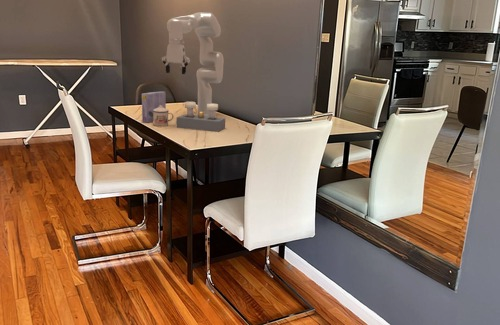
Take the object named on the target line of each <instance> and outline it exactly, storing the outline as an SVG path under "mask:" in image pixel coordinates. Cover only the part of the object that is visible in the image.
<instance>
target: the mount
mask: <svg viewBox="0 0 500 325" xmlns="http://www.w3.org/2000/svg"><path fill="white" fill-rule="evenodd" d="M176 128H178V129H185V130H186V129H187V130H195V131H196V130H197V131H198V130H199V131H205V132H217V133H219V132H221V131H222V130H224V129H226V117H217V116H215V120H210V119H209V117H208V116H204V118H198V115H195V114H193V118H190V117H187V113H185V114H181V115H179V116H176Z"/></svg>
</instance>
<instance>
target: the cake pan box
mask: <svg viewBox="0 0 500 325" xmlns="http://www.w3.org/2000/svg"><path fill="white" fill-rule="evenodd" d="M166 99H167V98H166V91H153V92H146V93H145V92H144V93H143V92H142V93H141V114H142V115H141V119H142V120H141V121H142V123H146V124H147V123H148V124H149V123H154V119H153V110H154V109H156V108H158V107H159V106H160V105H161V106H162V107H164V108H165V109H167V108H166V105H167V104H166Z"/></svg>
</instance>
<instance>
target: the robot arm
mask: <svg viewBox="0 0 500 325" xmlns="http://www.w3.org/2000/svg"><path fill="white" fill-rule="evenodd" d="M166 28H167V29H166V30H167V31H168V45H167V47H166V48H167V49H166V55H164V56H162V57H161V61H162V63H163V64H164V66H165V72H166V74H170V71H171V69H170V68H171V66H170V64H181V65H182V67H181V74H182V75H185V74H186V73H187V70H186V69H187V67H188V65H189V64H190V62H191V59H190V58H189V57H187V56H186V50H185V49H186V48H185V45H183V44H185V43H186V42H185V40H183V38H184V37H183V34H189V33H190V32H192V31H193V30H194V32H195V35H196V36H197V38H198V41H199V63H200V65H201V66H205V67H200V68H198V69H197V71H196V82H197V112H195V113H194V115H198V112H199V111H203V112H204V116H208V117H209V110H207V104H213V102H212V101H213V98H212V97H213V89H212V86H211V85H210V84H220V83H221V82H222V81H223V76H224V63H225V61H224V55H223V53H222V52H220V51H214V41H213V40H212V38H218V37H220V35H221V33H222V28H221V25H220V23H219V21H218V19H217V17H216V16H215V14H213V13H212V12H201V11H198V12H195V13H192V14H189V15H183V16H177V17H176V16H175V17H172V18H170V19H168V21H167V22H166ZM212 67H215V68H212Z"/></svg>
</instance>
